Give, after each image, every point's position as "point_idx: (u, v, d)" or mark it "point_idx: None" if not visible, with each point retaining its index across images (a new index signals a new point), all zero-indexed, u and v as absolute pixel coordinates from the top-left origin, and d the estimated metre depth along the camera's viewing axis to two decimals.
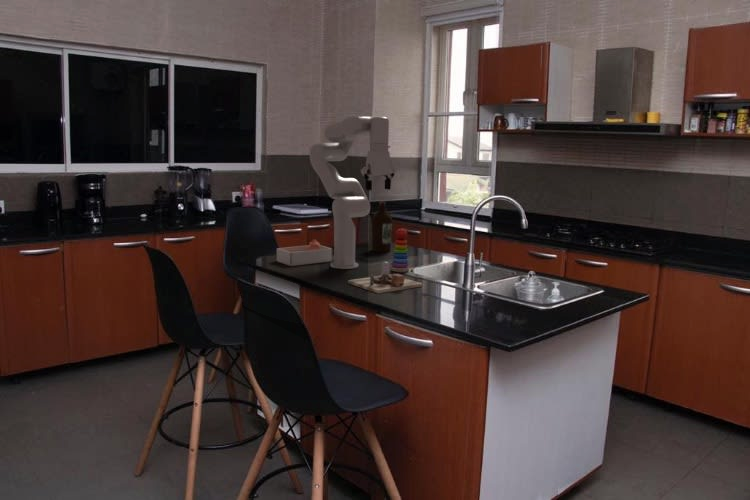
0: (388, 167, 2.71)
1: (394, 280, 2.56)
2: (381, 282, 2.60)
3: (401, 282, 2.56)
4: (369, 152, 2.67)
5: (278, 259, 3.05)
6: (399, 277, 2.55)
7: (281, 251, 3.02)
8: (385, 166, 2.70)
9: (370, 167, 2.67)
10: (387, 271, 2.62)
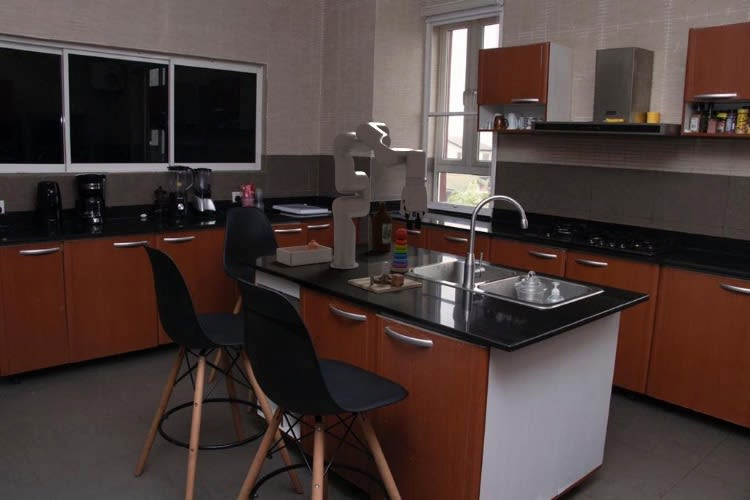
0: (424, 202, 2.56)
1: (394, 280, 2.56)
2: (381, 282, 2.60)
3: (401, 282, 2.56)
4: (404, 187, 2.53)
5: (278, 259, 3.05)
6: (399, 277, 2.55)
7: (281, 251, 3.02)
8: (421, 201, 2.55)
9: (405, 203, 2.52)
10: (387, 271, 2.62)
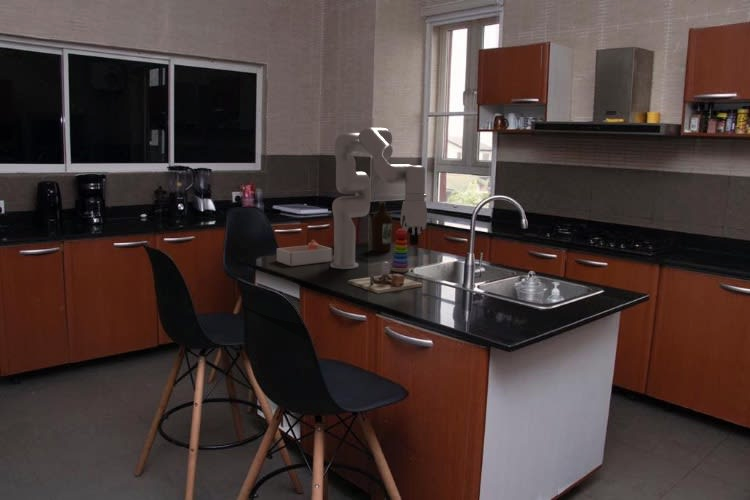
0: (424, 218, 2.57)
1: (394, 280, 2.56)
2: (381, 282, 2.60)
3: (401, 282, 2.56)
4: (404, 203, 2.53)
5: (278, 259, 3.05)
6: (399, 277, 2.55)
7: (281, 251, 3.02)
8: (421, 217, 2.55)
9: (405, 218, 2.53)
10: (387, 271, 2.62)
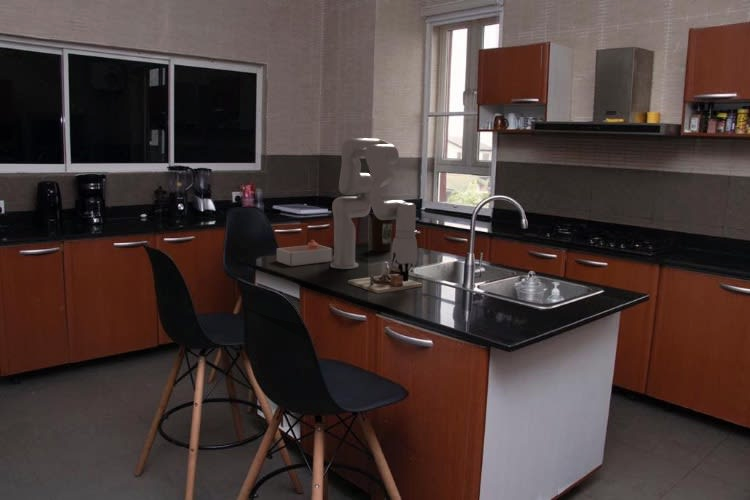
0: (415, 254, 2.57)
1: (393, 280, 2.56)
2: (380, 282, 2.60)
3: (400, 282, 2.56)
4: (395, 240, 2.54)
5: (278, 259, 3.05)
6: (398, 277, 2.55)
7: (281, 251, 3.02)
8: (411, 254, 2.56)
9: (396, 256, 2.53)
10: (387, 271, 2.62)
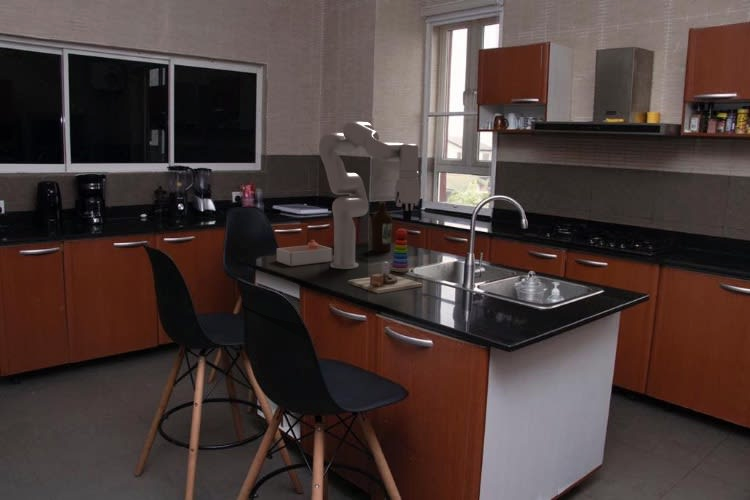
0: (417, 194, 2.67)
1: None
2: None
3: (376, 282, 2.55)
4: (398, 180, 2.63)
5: (278, 259, 3.05)
6: (373, 277, 2.55)
7: (281, 251, 3.02)
8: (414, 193, 2.65)
9: (399, 195, 2.63)
10: (387, 271, 2.62)
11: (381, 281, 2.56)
